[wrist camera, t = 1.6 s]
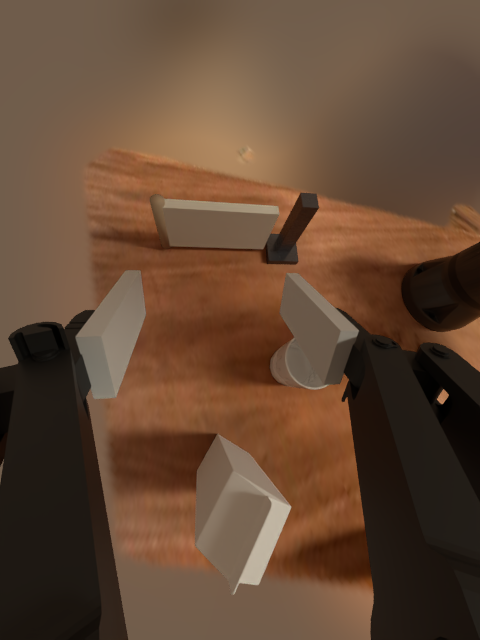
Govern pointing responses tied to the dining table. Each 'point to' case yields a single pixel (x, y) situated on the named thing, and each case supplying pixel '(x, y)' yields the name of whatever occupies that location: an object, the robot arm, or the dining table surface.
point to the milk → (237, 513)
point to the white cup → (294, 367)
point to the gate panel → (212, 223)
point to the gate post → (291, 231)
